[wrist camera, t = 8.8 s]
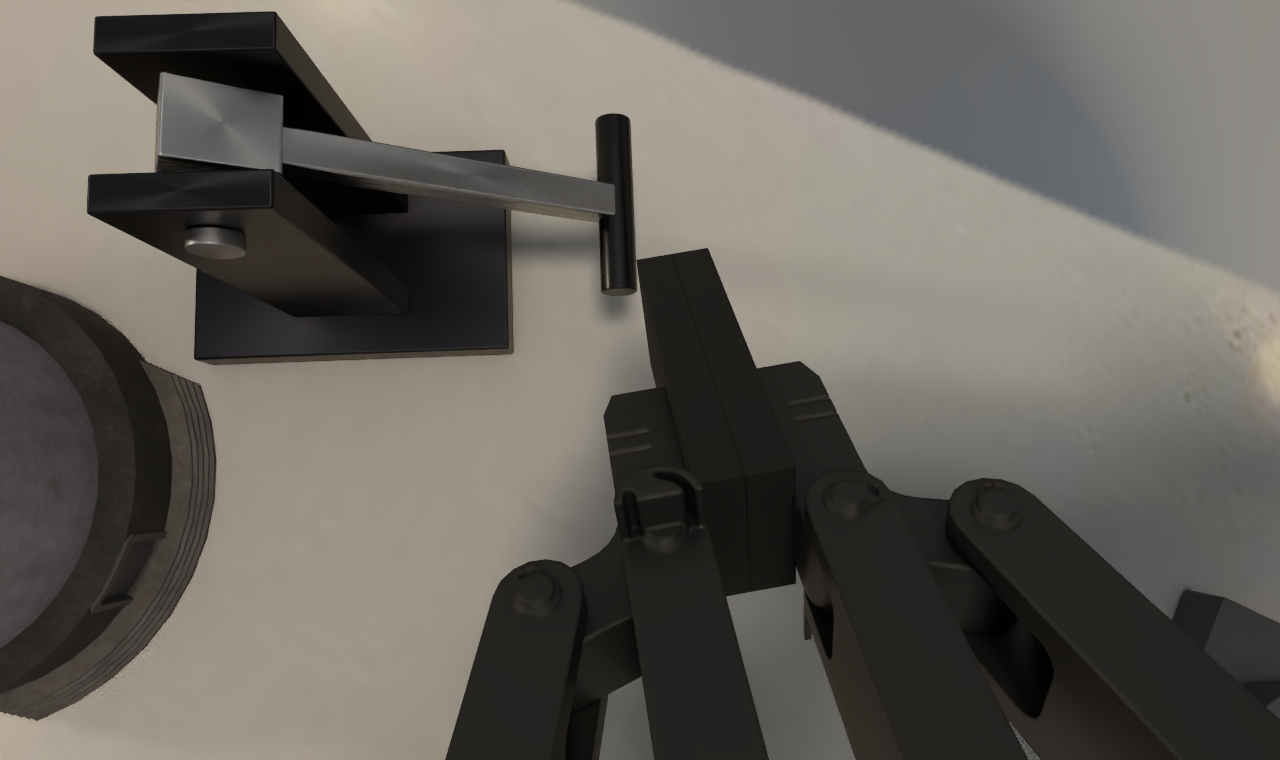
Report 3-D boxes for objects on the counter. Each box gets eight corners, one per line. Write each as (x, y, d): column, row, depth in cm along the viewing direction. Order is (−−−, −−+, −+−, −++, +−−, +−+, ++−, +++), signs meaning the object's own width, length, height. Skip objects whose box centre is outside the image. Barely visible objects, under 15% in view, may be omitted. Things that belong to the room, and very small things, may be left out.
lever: (610, 136, 30) (646, 109, 28) (616, 301, 29) (653, 285, 27) (158, 41, 22) (162, -5, 20) (151, 258, 22) (154, 232, 20)
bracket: (509, 162, 34) (431, -51, 21) (513, 354, 33) (434, 263, 20) (215, 171, 34) (-62, -38, 20) (211, 365, 33) (-84, 282, 19)
